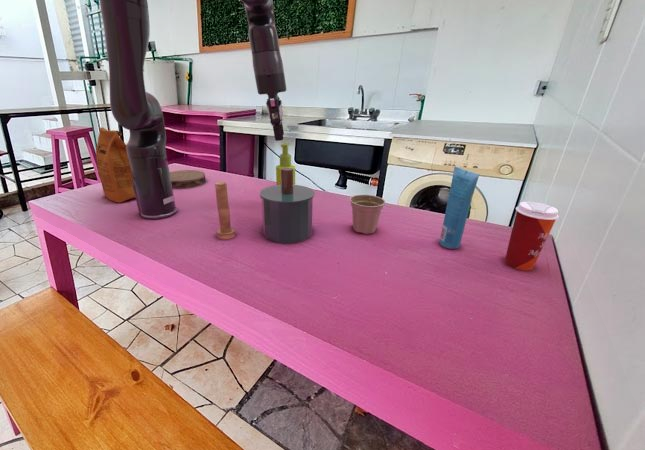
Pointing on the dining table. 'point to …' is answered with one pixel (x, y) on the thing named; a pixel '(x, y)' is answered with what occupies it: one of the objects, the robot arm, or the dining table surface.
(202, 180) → the brown round disc
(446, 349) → the dining table surface
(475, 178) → the tube
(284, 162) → the soap dispenser
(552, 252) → the dining table surface
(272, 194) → the lid
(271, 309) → the dining table surface
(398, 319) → the dining table surface
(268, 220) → the canister
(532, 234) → the paper cup
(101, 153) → the coffee package
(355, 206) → the flower pot
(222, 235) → the wooden pestle
